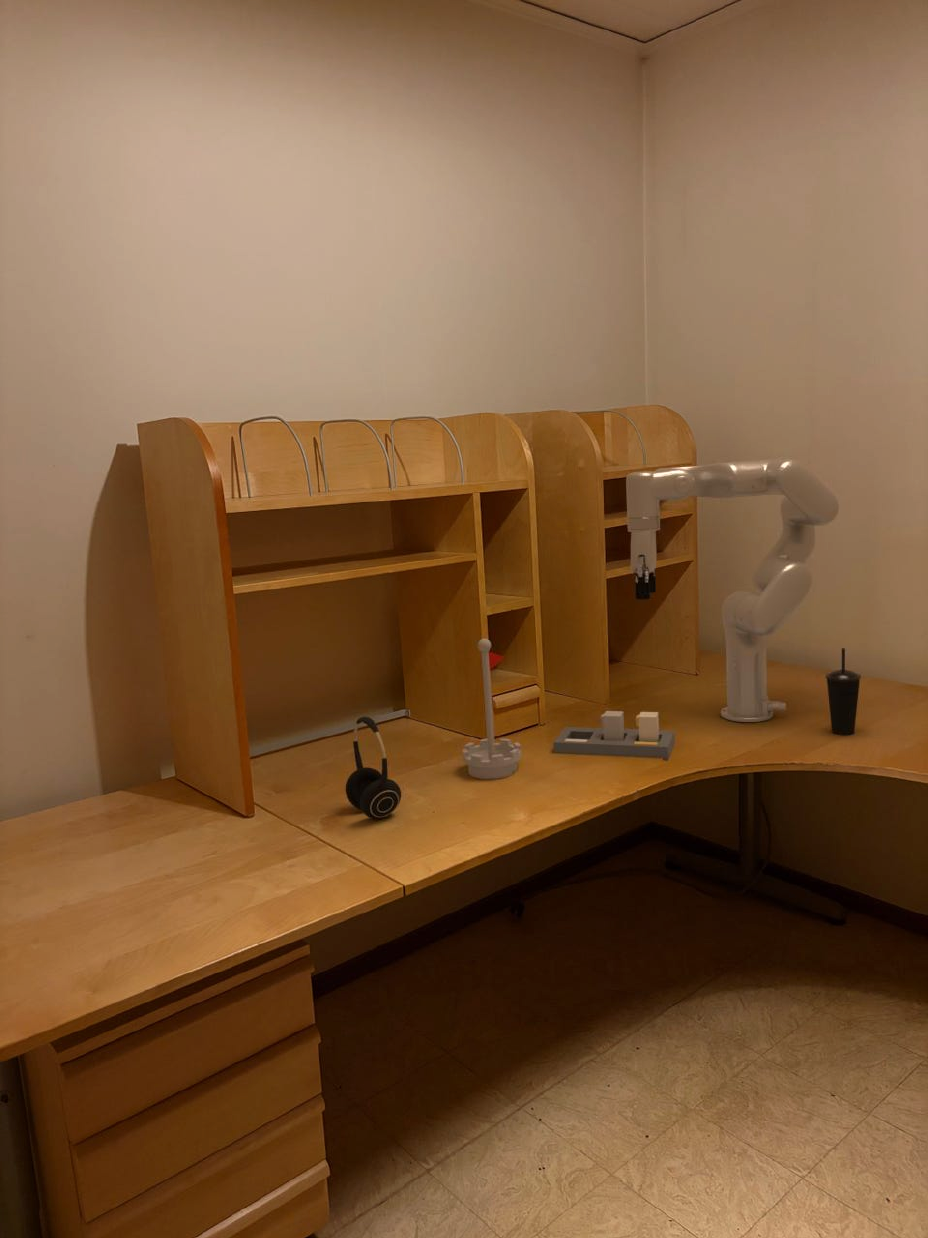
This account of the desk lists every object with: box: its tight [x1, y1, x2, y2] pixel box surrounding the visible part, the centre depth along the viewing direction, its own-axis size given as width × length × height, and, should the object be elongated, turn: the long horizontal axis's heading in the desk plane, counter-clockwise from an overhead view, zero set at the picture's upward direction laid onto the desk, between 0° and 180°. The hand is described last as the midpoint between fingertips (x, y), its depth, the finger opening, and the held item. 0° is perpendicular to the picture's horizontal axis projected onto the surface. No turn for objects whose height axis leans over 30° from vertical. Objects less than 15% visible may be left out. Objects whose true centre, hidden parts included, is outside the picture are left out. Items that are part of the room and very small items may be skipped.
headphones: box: [345, 716, 402, 820], centre depth 186 cm, size 9×15×20 cm, turn 30°
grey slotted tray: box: [552, 710, 676, 761], centre depth 216 cm, size 26×12×8 cm, turn 71°
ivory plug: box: [635, 711, 660, 742], centre depth 213 cm, size 5×4×8 cm
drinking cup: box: [824, 647, 862, 736], centre depth 215 cm, size 8×8×20 cm
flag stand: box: [461, 638, 522, 780], centre depth 205 cm, size 13×13×30 cm
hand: (646, 595), depth 223 cm, fingers open, 9 cm apart
